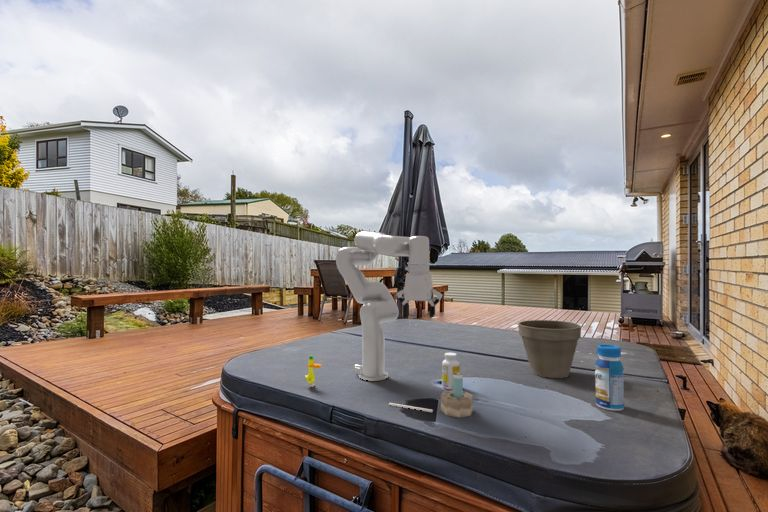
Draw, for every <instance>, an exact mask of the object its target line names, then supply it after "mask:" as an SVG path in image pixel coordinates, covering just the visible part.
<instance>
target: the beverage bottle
mask: <svg viewBox="0 0 768 512" xmlns="http://www.w3.org/2000/svg"><path fill="white" fill-rule="evenodd" d="M596 348H597V350H596V351H597V356H599V357H598V358H597V359H596V361H595V364H594V367H595V368H596V369H595V371H594V376H595V405H596V406H598V407H599V408H601V409H604V410H607V411H611V412H612V411H613V412H616V411H617V412H618V411H619V412H620V411H623V410H624V408H625V397H624V396H625V395H624V393H625V392H624V391H625V390H624V386H625V385H624V384H625V383H624V380H625V373H624V369H625V367H624V365H623V363H622V362H621V360H620V359H621V357H622V349H621V347H620V346H618V345H613V344H598V345H597V347H596Z"/></svg>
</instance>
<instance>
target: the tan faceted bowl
mask: <svg viewBox="0 0 768 512" xmlns="http://www.w3.org/2000/svg"><path fill="white" fill-rule="evenodd" d="M473 406H474V395H473V394H471V393H469V392H467V391H466V390H465V391H464V390H463V397H462V398H454V397H453V390H444V391H443V392H441V395H440V411H441V413H443V414H444V415H446V416H447V417H455V418H466V417H469V416H472V413H473V411H474V407H473Z"/></svg>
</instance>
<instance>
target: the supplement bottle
mask: <svg viewBox="0 0 768 512" xmlns="http://www.w3.org/2000/svg"><path fill="white" fill-rule="evenodd" d="M457 358H458V354H457V353H455V352H445V353H444V359H443V361H442V363H441V367H442V368H441V370H442V371H441V372H442V373H441V377H442V378H441V379H442V382H441V383H442V384H441V385H442V388H444V389H446V390H448V391H450V390H453V373H461V371H460V369H461V368H460V365H461V364H460V361H458V360H457Z"/></svg>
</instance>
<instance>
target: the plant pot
mask: <svg viewBox="0 0 768 512" xmlns="http://www.w3.org/2000/svg"><path fill="white" fill-rule="evenodd" d="M517 324H518V325H517V326H518V334H519V335H520V336H521V339H522V343H523V347H524V350H525V354H526V357H527V360H528V363H529V367H530V369H531V372H532V374H534V375H535V376H538V375H539V377H541V376H542V378H546V377H548V379H564V377H565V378H568V376H570V371H571V368H572V364H573V360H574V357H575V353H576V350H577V345H578V341H579V339H580V338H581V337H582V333H581V332H582V326H581V325H580V324H578V323H574V322H570V321H563V320H553V319H552V320H551V319H550V320H549V319H548V320H547V319H540V320H539V319H533V320H530V319H529V320H523V321H519V322H518V323H517Z"/></svg>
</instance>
